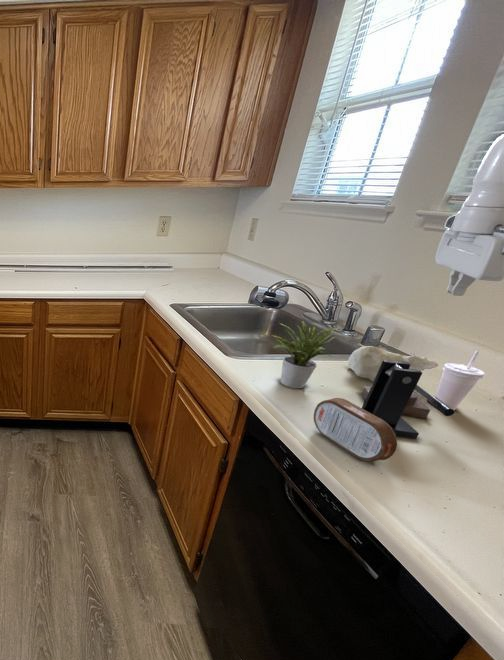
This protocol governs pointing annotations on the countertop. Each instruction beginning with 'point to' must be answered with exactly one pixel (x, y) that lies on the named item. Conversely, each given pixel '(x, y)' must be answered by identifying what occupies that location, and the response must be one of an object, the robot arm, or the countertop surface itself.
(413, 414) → the button block
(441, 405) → the lever
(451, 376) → the smoothie
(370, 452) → the tin
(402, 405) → the bracket
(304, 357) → the house plant
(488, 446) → the countertop surface
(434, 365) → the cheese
